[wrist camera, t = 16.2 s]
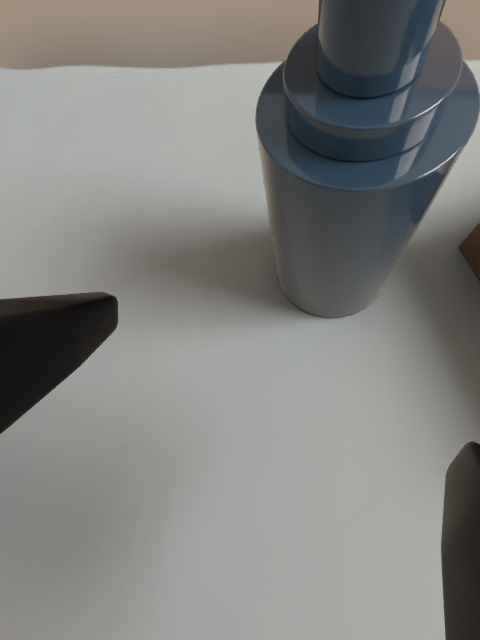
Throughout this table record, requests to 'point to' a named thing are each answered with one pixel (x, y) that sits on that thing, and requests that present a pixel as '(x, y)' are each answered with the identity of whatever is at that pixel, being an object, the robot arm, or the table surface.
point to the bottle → (359, 145)
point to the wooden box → (472, 250)
